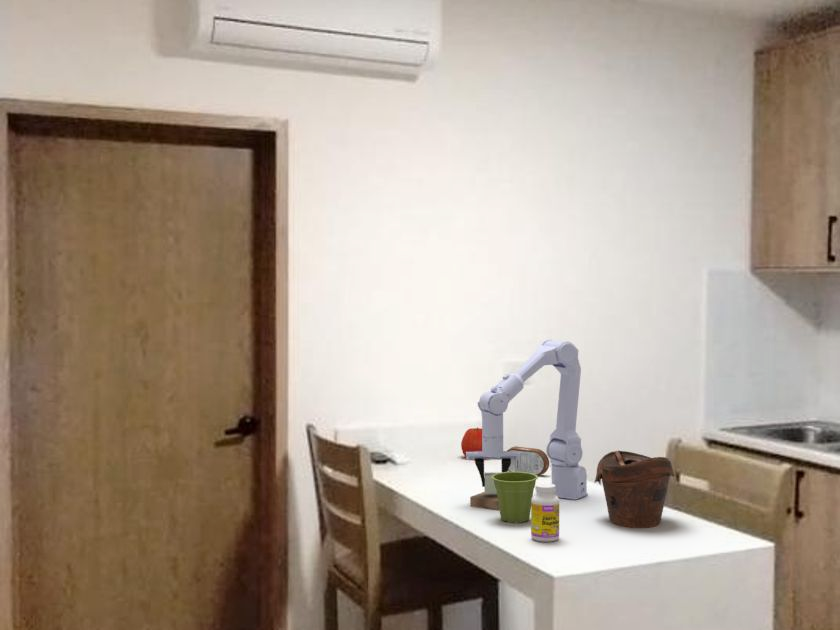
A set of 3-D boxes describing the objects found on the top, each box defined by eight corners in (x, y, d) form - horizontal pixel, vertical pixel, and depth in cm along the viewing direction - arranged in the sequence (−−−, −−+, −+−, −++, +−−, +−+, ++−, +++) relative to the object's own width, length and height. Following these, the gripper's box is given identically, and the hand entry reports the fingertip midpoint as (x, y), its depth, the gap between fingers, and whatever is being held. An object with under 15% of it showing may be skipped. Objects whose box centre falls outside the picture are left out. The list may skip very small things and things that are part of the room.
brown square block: (515, 505, 273) (515, 494, 273) (499, 512, 266) (499, 500, 266) (487, 501, 278) (487, 490, 278) (470, 507, 271) (470, 496, 271)
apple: (459, 460, 337) (459, 429, 337) (463, 454, 348) (463, 424, 347) (491, 461, 335) (491, 429, 335) (494, 455, 346) (494, 424, 346)
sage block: (500, 490, 274) (500, 472, 274) (501, 494, 270) (501, 475, 270) (484, 490, 274) (484, 472, 274) (484, 494, 270) (484, 475, 270)
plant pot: (483, 517, 259) (483, 474, 258) (523, 512, 263) (523, 470, 263) (505, 527, 248) (505, 482, 247) (546, 522, 253) (546, 478, 252)
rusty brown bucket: (605, 509, 266) (606, 442, 265) (681, 517, 257) (682, 448, 255) (584, 525, 250) (584, 454, 249) (664, 535, 241) (664, 461, 240)
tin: (549, 476, 310) (549, 449, 310) (545, 477, 308) (545, 450, 307) (506, 471, 318) (506, 445, 318) (502, 473, 316) (501, 446, 315)
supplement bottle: (540, 543, 233) (540, 489, 232) (526, 537, 239) (525, 483, 238) (564, 540, 236) (564, 486, 235) (550, 534, 242) (550, 481, 241)
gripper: (518, 433, 275) (518, 482, 276) (465, 434, 276) (466, 482, 276) (520, 438, 268) (520, 488, 268) (466, 438, 269) (466, 488, 269)
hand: (493, 486), depth 272 cm, fingers closed on sage block, 4 cm apart
